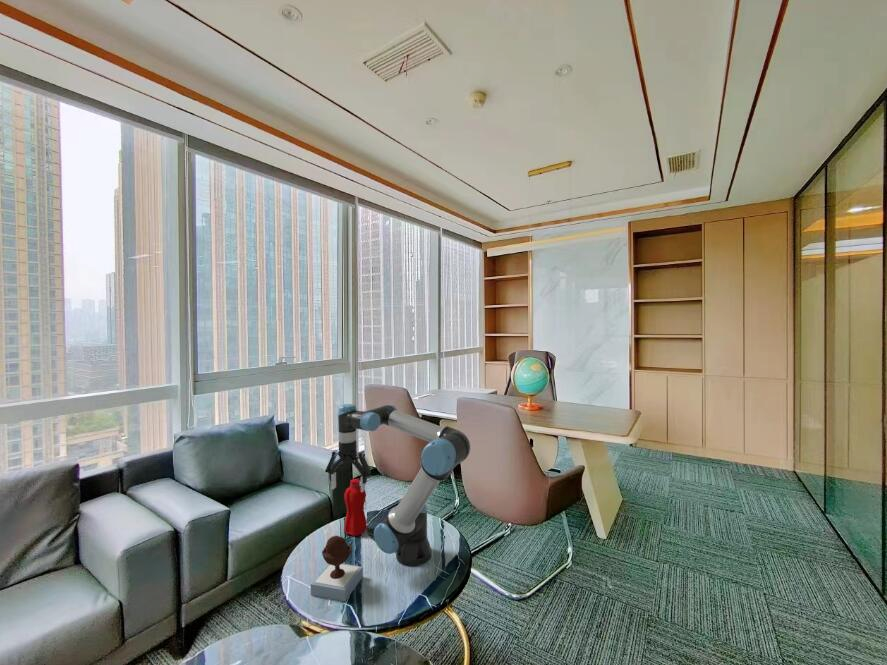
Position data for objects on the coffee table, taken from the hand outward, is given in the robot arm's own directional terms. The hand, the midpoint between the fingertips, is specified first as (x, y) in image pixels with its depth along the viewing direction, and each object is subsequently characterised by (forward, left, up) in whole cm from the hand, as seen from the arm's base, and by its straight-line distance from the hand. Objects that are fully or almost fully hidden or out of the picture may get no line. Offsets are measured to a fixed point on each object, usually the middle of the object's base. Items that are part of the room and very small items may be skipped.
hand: (348, 489), depth 165 cm
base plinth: (-5, +19, -28) cm, 35 cm away
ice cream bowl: (-5, +19, -24) cm, 31 cm away
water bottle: (+6, -18, -29) cm, 34 cm away
